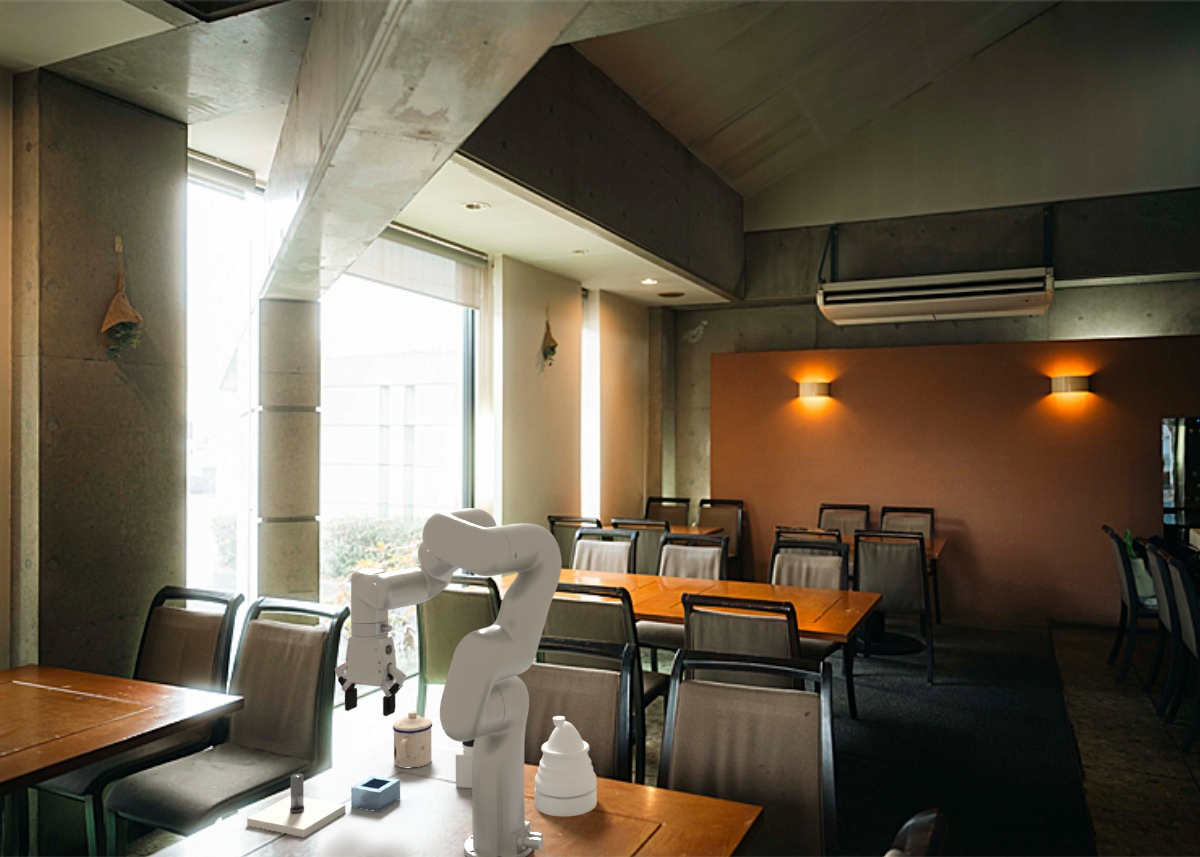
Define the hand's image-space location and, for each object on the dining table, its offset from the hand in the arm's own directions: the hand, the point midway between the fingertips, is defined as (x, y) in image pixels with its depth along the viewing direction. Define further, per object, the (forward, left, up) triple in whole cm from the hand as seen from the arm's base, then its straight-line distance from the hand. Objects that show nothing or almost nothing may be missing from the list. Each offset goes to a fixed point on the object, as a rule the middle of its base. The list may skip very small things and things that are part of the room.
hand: (369, 711), depth 177 cm
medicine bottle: (-15, -18, -19) cm, 30 cm away
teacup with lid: (+5, -22, -19) cm, 29 cm away
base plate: (+9, +11, -19) cm, 24 cm away
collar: (-1, -1, -19) cm, 19 cm away
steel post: (+9, +11, -17) cm, 23 cm away
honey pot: (-38, -15, -19) cm, 45 cm away
